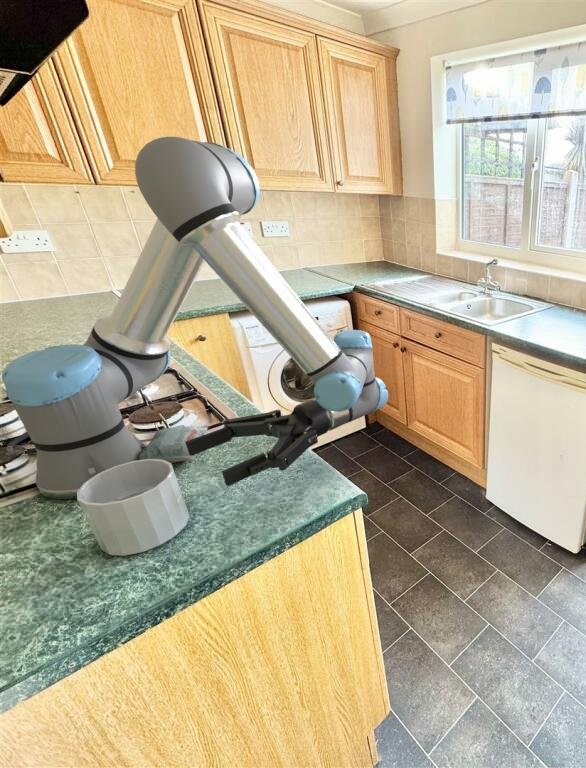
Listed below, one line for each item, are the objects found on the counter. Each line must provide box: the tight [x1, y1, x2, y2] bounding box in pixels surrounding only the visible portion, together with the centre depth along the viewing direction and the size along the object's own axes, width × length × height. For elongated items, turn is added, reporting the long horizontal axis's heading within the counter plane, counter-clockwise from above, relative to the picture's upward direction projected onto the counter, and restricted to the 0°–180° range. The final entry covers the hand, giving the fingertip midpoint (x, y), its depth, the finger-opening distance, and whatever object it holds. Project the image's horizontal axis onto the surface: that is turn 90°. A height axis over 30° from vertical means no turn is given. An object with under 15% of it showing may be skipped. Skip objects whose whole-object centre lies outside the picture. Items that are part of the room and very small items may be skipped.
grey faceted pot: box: [76, 459, 190, 557], centre depth 64 cm, size 11×11×10 cm
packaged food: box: [139, 424, 209, 464], centre depth 83 cm, size 9×12×5 cm
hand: (205, 463), depth 71 cm, fingers open, 13 cm apart
